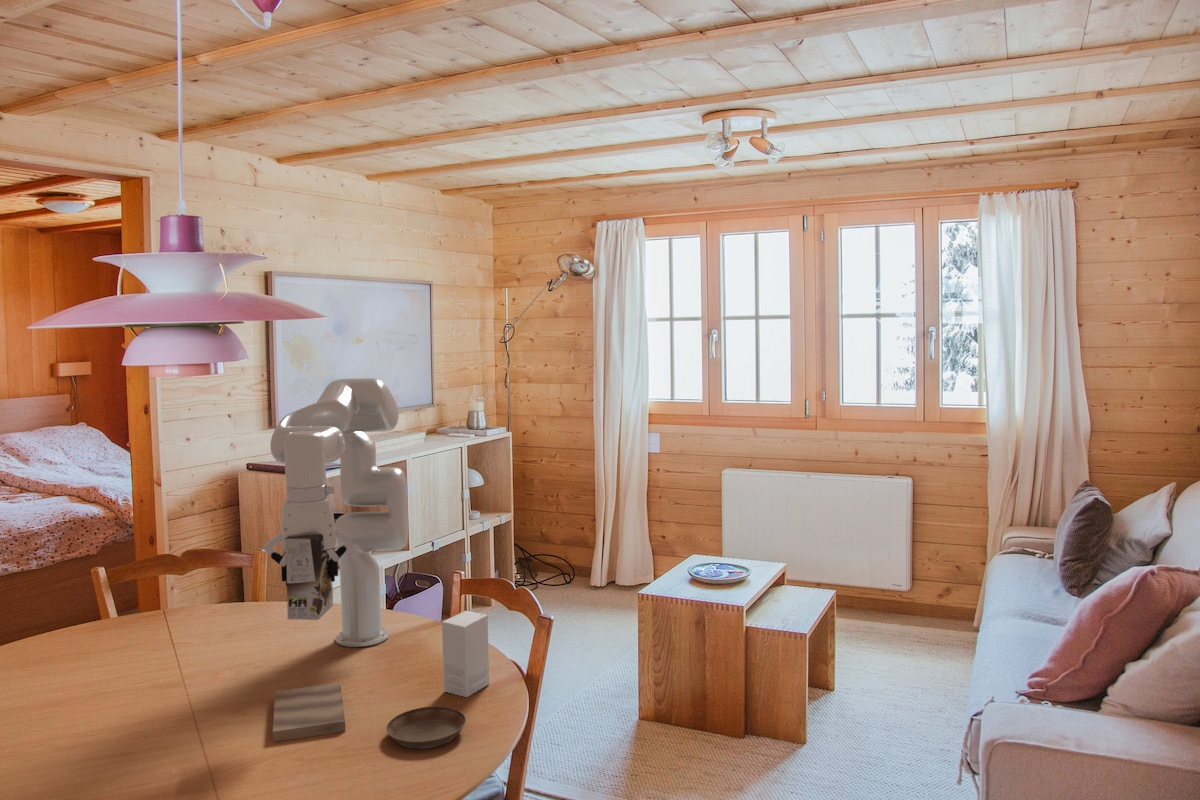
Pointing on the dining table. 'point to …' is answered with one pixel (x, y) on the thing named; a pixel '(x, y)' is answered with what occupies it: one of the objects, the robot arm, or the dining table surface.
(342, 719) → the grey-brown rectangular board
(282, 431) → the robot arm
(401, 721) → the saucer
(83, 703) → the dining table surface
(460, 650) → the skincare box
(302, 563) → the coffee box
